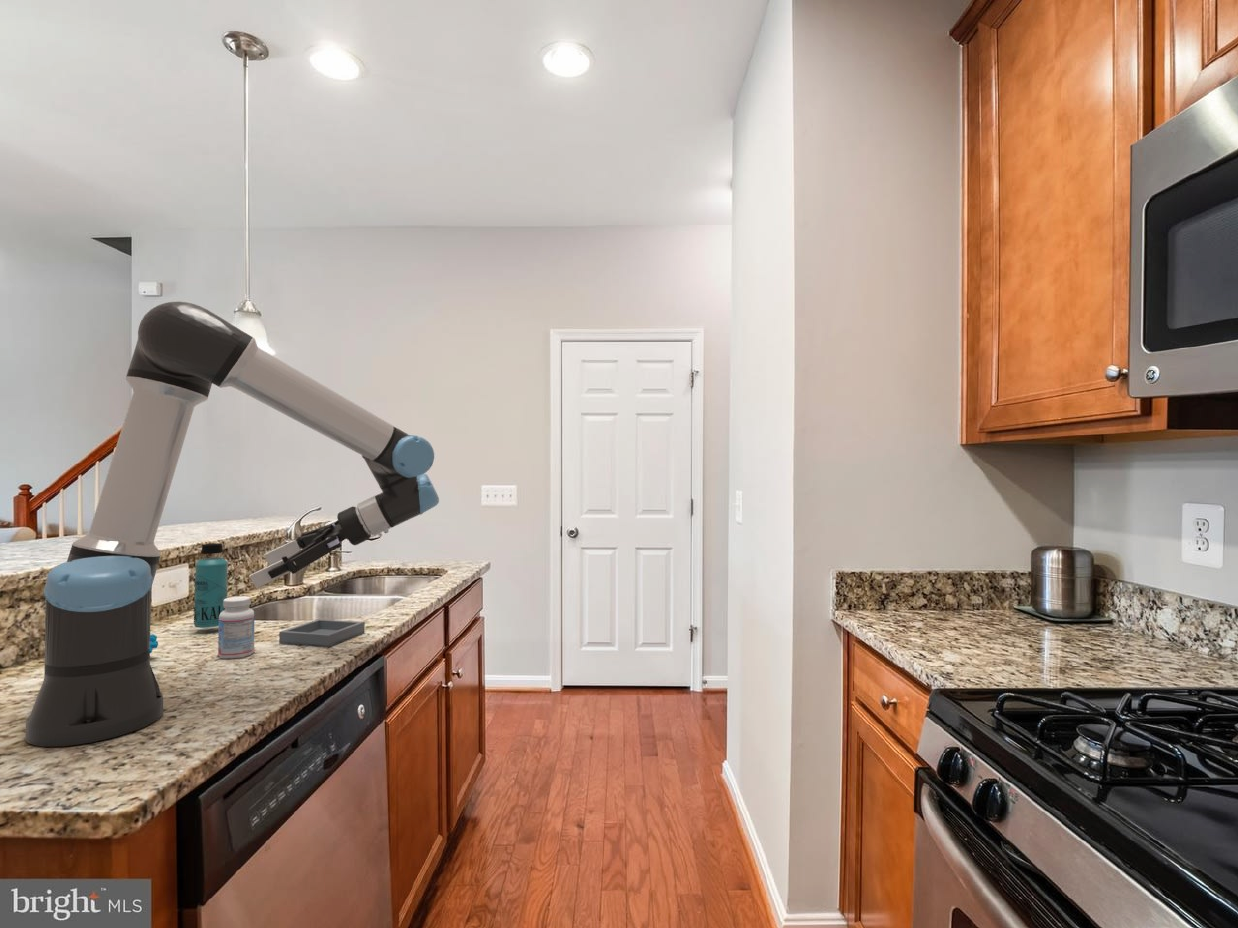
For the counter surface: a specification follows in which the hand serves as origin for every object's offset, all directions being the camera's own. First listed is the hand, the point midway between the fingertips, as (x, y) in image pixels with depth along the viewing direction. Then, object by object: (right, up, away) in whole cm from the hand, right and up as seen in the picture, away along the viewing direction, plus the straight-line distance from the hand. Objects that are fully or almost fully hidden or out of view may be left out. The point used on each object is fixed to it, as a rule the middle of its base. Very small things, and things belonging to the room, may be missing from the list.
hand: (260, 570), depth 123 cm
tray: (+6, -17, +13) cm, 22 cm away
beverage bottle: (-22, -17, +19) cm, 34 cm away
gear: (-24, -17, -5) cm, 29 cm away
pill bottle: (-5, -17, 0) cm, 18 cm away
